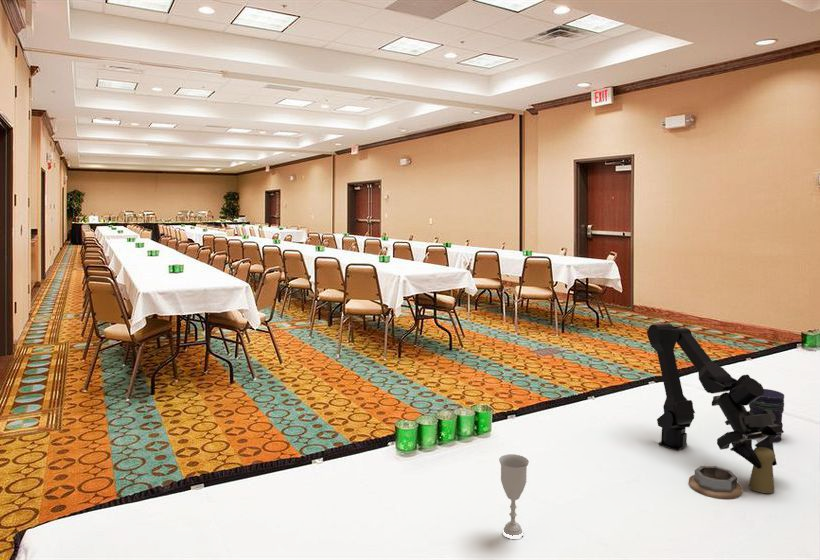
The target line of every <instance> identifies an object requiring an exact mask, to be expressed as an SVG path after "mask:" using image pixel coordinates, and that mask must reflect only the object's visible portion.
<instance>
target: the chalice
mask: <svg viewBox="0 0 820 560" xmlns="http://www.w3.org/2000/svg"><path fill="white" fill-rule="evenodd" d="M498 462H499V463H500V483H501V485H502V489H503V490H504V493H505V496H506V498H508V500H510V502H511V503H510V505H509V508H510V513H508V514H509V516H510V520H509V521H508V522H506V524H505V525H504V527H503V530H504V532H505V533H506V534H509V535H512V536H513V535H519V534H521V533H522V532H523V530H522V526H521V525H520V524H519V523H518V522H517V521H516V517H517V515H518V514H517V512H516V509H517V506H516V501H518V500H519V499H520V497H521V495H522V494H523V492H524V490H525V488H526V487H525V486H526V485H527V484H526V483H527V467H528V465H529V462H530V461H529V459H528V458H527V457H525V456H523V455H520V454H511V453H510V454H504V455H501V456H500V457H499V458H498Z"/></svg>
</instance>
